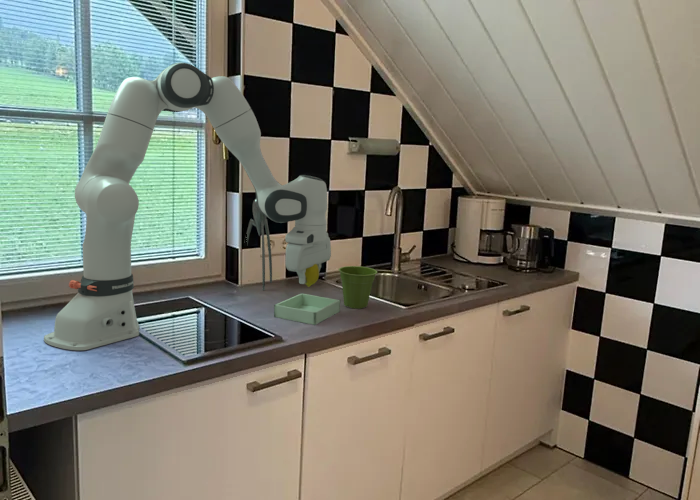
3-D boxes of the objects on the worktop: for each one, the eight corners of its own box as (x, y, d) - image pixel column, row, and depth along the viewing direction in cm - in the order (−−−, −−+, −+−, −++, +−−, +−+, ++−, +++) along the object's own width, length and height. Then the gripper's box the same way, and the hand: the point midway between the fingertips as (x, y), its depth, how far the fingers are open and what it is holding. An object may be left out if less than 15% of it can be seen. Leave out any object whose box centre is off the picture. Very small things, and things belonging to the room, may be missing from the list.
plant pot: (347, 313, 175) (349, 275, 172) (330, 302, 185) (331, 267, 183) (382, 309, 180) (384, 273, 178) (363, 299, 190) (365, 265, 188)
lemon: (315, 283, 174) (316, 257, 172) (320, 288, 168) (321, 261, 167) (297, 284, 172) (297, 257, 170) (301, 289, 167) (302, 261, 165)
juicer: (272, 282, 205) (274, 196, 200) (264, 290, 195) (266, 199, 189) (244, 280, 206) (245, 194, 201) (235, 288, 195) (236, 197, 190)
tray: (314, 325, 162) (315, 312, 161) (273, 316, 168) (274, 304, 167) (339, 311, 176) (340, 300, 175) (301, 304, 181) (301, 293, 180)
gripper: (318, 227, 178) (316, 272, 180) (281, 236, 159) (280, 286, 162) (337, 230, 175) (335, 275, 178) (302, 239, 157) (300, 290, 159)
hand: (308, 281), depth 170 cm, fingers closed on lemon, 5 cm apart
